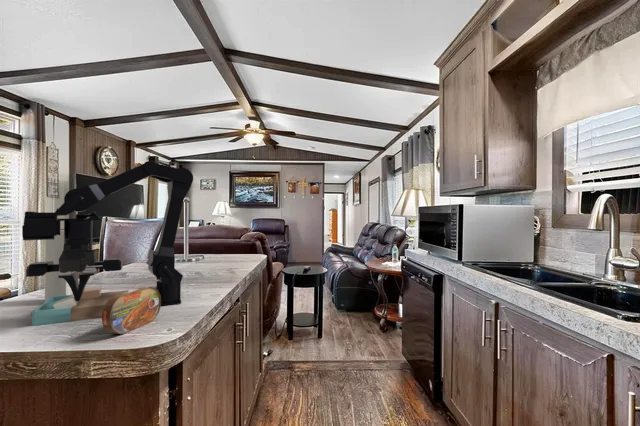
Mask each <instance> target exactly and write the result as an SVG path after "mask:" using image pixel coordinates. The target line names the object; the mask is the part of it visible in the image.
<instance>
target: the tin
mask: <svg viewBox="0 0 640 426" xmlns="http://www.w3.org/2000/svg"><path fill="white" fill-rule="evenodd" d="M154 287H155V286H144V287H142V286H141V287H138V288H134V289H131V290H128V292H125V293H122V294H118V295H115V296H113V297H112V298H110V299H109V300H108V301H107V303H106V304H105V306H104V308H103V311H102V318H101V321H102V327H103V328H104V330H105V331H106V332H108V333H109V334H118V335H125V334H127V333H128V334H129V333H130V332H133V331H134V330H136V329H140V327H143V326H145V325H147V324H150V323H151V322H153V321H154V320H155V319H156V318H157V316H158V315H159V313H160V310H161V297H160V293H159V292H158V290H157V289H156V288H154Z"/></svg>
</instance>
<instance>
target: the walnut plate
mask: <svg viewBox="0 0 640 426" xmlns="http://www.w3.org/2000/svg"><path fill="white" fill-rule="evenodd" d="M128 291H129V290H128V289H127V290H117V291H116V290H115V291H107V292H101V296H100V297H97V298H87V299H80V301H78V303H77V305H75V306H73V307H72V308H71V317H70V321H69V322H75V321H85V320H92V319H100V318H101V319H102V311H103V308H104V306H105V304H106V303H107V301H108V300H109V299H110V298H112V297H113V296H115V295H118V294H122V293H125V292H128Z"/></svg>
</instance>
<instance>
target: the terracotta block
mask: <svg viewBox="0 0 640 426" xmlns="http://www.w3.org/2000/svg"><path fill="white" fill-rule="evenodd" d="M101 293H102V286H101V287H100V286H99V287H87V288H86V287H85V289H84V291H83V294H82V296H81V299H87V298H97V297H100V296H101Z"/></svg>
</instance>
